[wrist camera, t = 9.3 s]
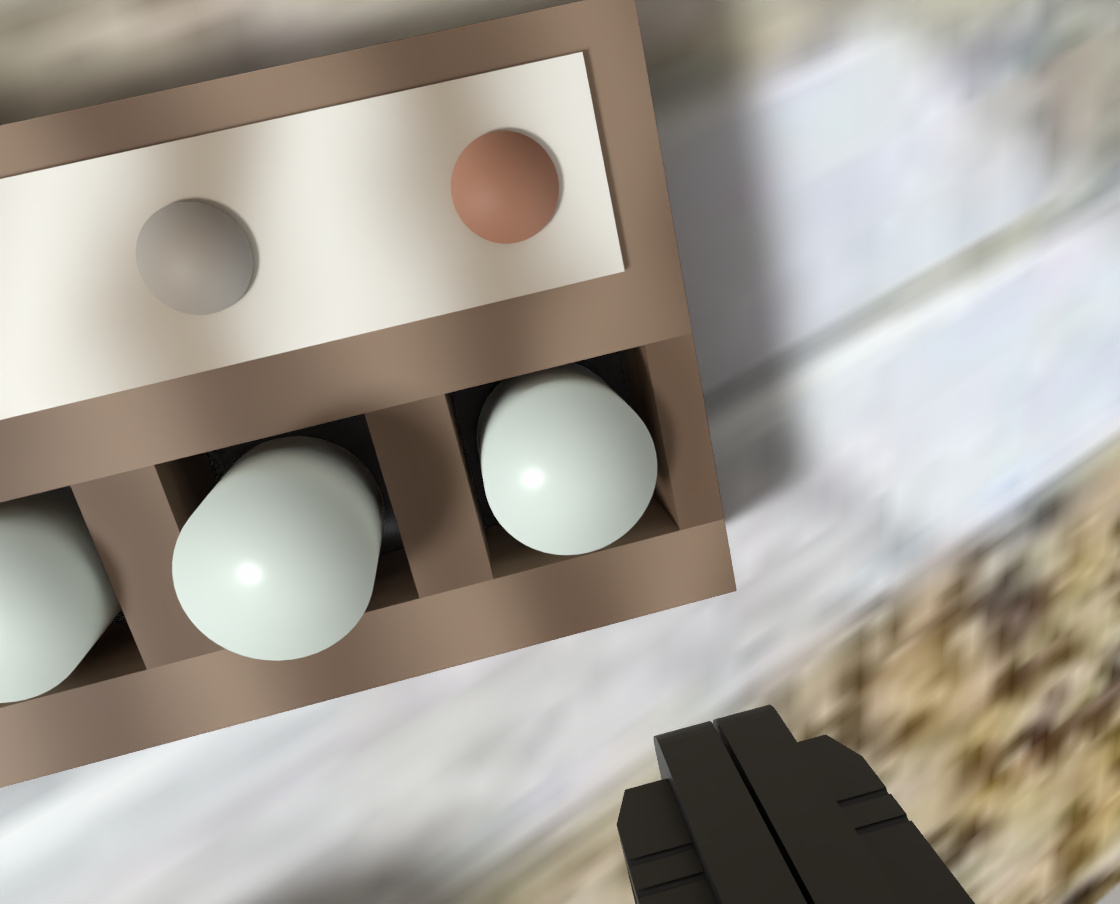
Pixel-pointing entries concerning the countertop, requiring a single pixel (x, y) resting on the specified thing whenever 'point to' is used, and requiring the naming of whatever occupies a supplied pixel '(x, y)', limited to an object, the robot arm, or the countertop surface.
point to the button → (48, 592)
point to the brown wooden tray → (342, 346)
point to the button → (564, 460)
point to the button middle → (282, 550)
